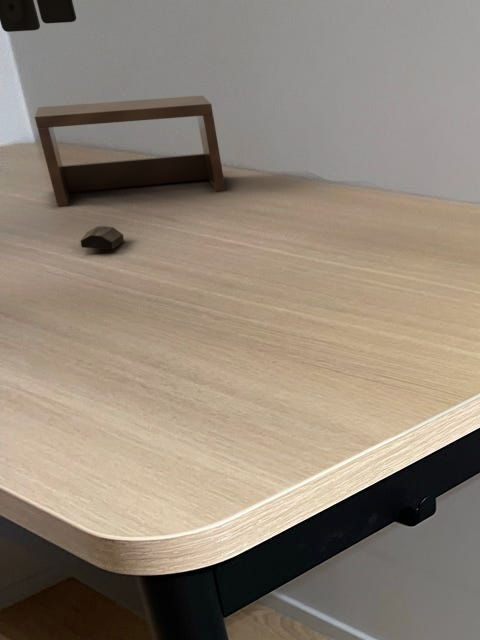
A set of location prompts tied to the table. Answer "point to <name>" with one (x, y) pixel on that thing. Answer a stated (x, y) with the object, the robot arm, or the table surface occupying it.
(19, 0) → the robot arm
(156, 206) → the table surface
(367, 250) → the table surface
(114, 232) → the block
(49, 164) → the shelf
